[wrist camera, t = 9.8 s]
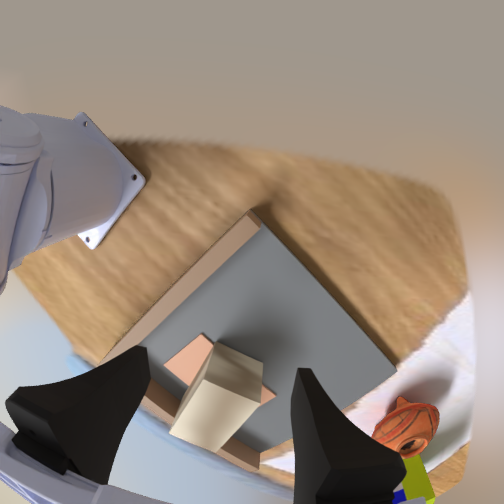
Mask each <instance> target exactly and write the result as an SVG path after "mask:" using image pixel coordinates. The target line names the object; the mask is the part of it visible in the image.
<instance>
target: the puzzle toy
mask: <svg viewBox="0 0 504 504" xmlns="http://www.w3.org/2000/svg"><path fill="white" fill-rule="evenodd" d="M403 461H404V464H405V467H406V470H407V474H406V476H405V478H404V479H403V481H402V482H401V483H400V484H399V485H398V486H397V487H396V488H395V490H394V491H393V492H394V495H395V498H394V499H393V500H392V502H393V504H398V503H400V502H404V501H408V500H412V499H415V498H419V497H424V498H425V501H426V504H434V501H435V494H434V491H433V488H432V486H431V483H430V480H429V478H428V475H427V473H426V470H425V467H424V465H423V462H422V460H421V457H420V455H419V454H418V455H416V456H414V457H411V458H408V459H403Z"/></svg>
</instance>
